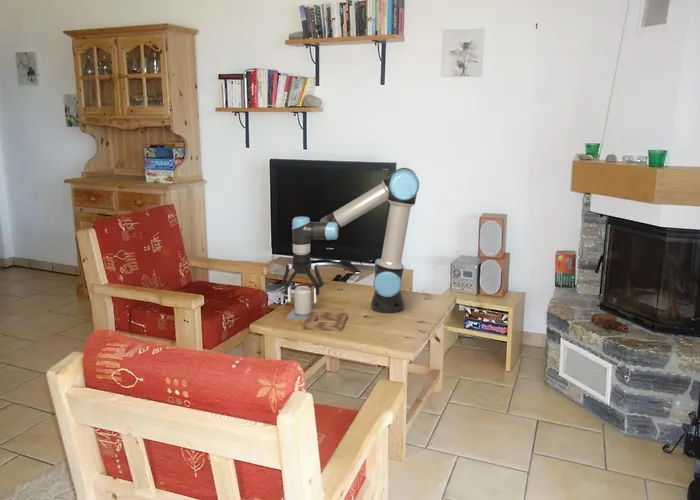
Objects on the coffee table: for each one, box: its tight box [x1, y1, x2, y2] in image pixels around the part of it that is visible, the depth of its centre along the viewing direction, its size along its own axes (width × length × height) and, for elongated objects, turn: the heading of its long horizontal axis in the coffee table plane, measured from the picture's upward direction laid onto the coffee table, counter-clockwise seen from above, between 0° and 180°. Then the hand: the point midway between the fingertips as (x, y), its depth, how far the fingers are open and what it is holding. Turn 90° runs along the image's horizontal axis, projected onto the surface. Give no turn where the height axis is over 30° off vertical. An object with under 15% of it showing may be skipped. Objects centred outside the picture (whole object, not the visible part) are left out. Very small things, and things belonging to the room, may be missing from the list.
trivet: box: [286, 308, 320, 321], centre depth 260 cm, size 12×12×1 cm
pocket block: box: [302, 311, 349, 332], centre depth 250 cm, size 16×16×2 cm
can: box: [293, 285, 313, 316], centre depth 259 cm, size 8×8×12 cm
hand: (302, 301), depth 259 cm, fingers open, 11 cm apart
